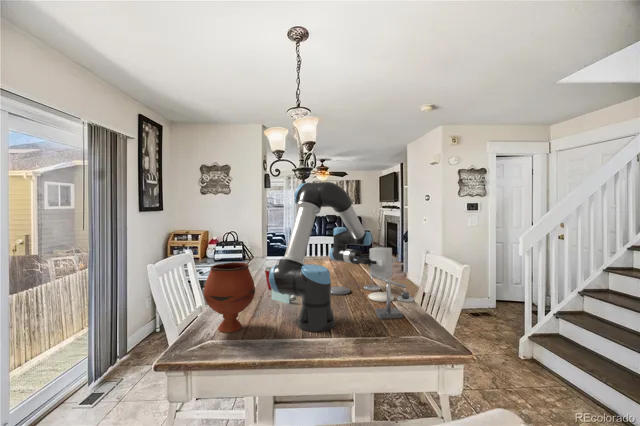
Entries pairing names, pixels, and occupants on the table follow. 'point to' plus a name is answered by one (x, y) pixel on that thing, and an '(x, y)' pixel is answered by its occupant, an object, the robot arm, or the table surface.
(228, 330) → the goblet
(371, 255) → the supplement box
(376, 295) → the cream dish
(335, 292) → the charcoal dish
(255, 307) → the table surface
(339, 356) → the table surface
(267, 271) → the plastic cup
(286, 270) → the robot arm
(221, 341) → the table surface
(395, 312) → the balance
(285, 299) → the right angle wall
